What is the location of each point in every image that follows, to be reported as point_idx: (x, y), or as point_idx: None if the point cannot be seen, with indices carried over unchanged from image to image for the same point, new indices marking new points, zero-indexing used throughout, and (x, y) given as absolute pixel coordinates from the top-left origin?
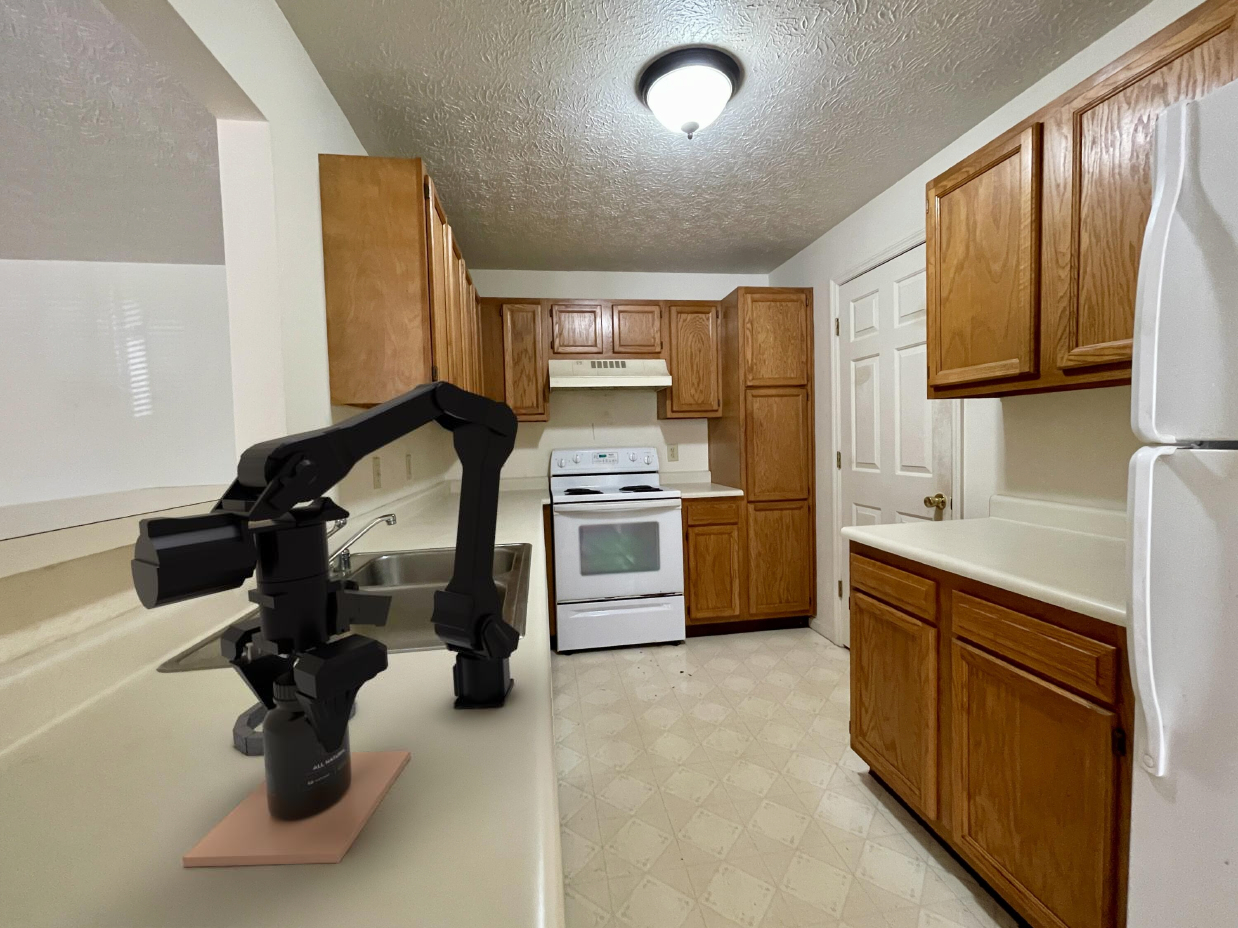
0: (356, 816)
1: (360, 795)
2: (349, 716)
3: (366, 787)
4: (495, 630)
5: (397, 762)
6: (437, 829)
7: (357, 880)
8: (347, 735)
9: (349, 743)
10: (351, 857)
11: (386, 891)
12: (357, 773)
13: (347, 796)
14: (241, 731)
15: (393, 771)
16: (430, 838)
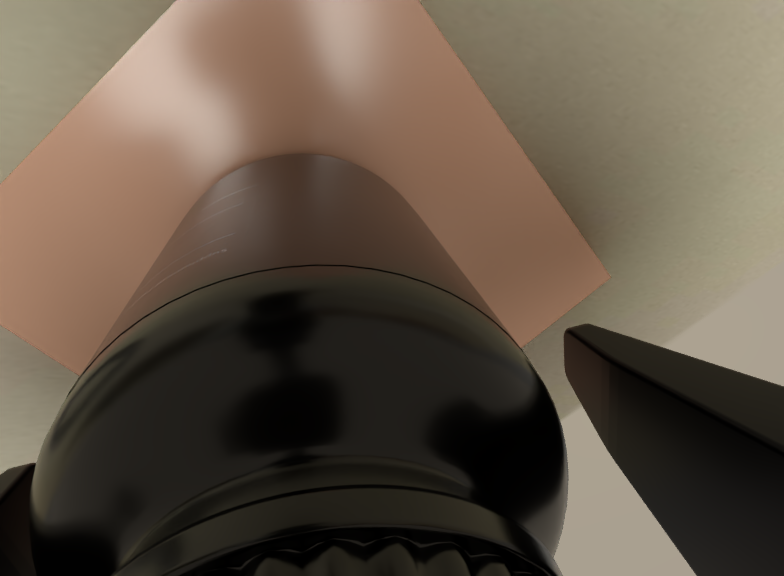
0: (528, 202)
1: (442, 159)
2: (763, 380)
3: (415, 126)
4: None
5: None
6: (746, 29)
7: (681, 251)
8: (427, 239)
9: (385, 204)
10: (608, 241)
11: (765, 216)
12: (297, 118)
13: (406, 191)
14: None
15: (407, 3)
16: (751, 63)
